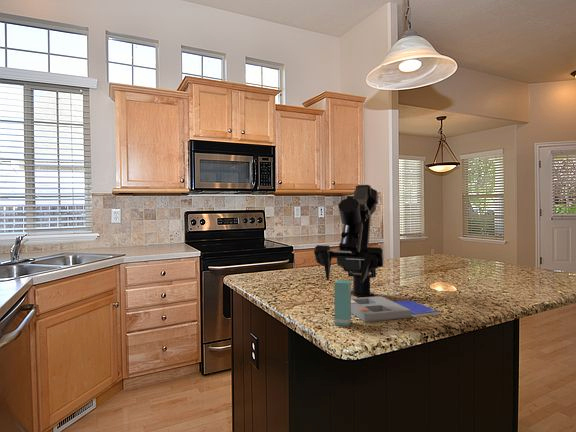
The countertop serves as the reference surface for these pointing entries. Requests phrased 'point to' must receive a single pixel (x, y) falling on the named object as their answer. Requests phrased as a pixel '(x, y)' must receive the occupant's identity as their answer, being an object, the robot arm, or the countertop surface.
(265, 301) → the countertop surface
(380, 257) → the robot arm
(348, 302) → the plug
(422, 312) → the hard drive
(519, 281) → the countertop surface
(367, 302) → the socket board
